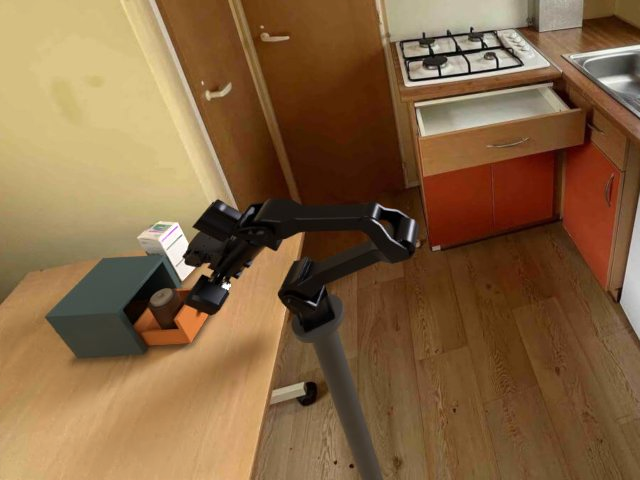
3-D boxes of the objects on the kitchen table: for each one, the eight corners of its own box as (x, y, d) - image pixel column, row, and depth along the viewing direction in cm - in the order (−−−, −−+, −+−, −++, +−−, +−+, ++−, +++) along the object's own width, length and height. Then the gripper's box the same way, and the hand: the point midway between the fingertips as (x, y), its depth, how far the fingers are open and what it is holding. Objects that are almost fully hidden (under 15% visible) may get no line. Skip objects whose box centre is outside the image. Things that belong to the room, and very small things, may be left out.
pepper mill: (197, 316, 93) (180, 284, 88) (177, 338, 88) (158, 305, 83) (178, 312, 93) (160, 281, 89) (157, 333, 89) (137, 301, 84)
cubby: (186, 294, 99) (164, 254, 93) (144, 354, 86) (116, 312, 80) (128, 298, 98) (102, 257, 92) (77, 358, 86) (44, 316, 80)
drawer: (224, 298, 98) (213, 275, 94) (196, 342, 88) (183, 319, 85) (167, 301, 97) (154, 278, 93) (134, 346, 88) (118, 323, 84)
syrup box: (200, 263, 107) (179, 220, 100) (181, 283, 102) (158, 239, 95) (179, 261, 107) (157, 219, 101) (160, 281, 102) (135, 237, 96)
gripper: (232, 194, 89) (196, 235, 94) (175, 266, 73) (135, 312, 77) (279, 220, 93) (243, 258, 98) (236, 294, 77) (194, 335, 81)
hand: (207, 287), depth 88 cm, fingers open, 4 cm apart
